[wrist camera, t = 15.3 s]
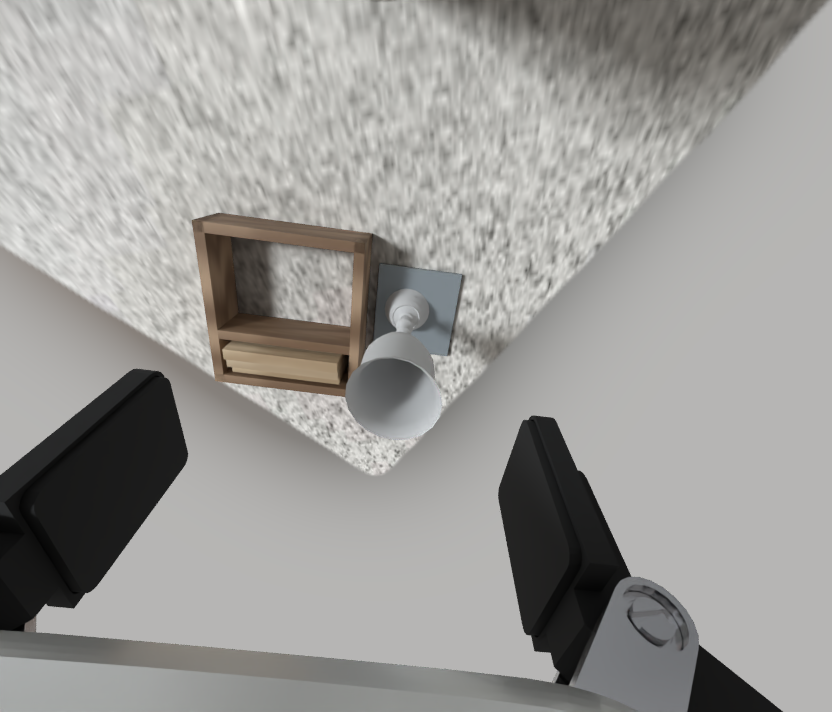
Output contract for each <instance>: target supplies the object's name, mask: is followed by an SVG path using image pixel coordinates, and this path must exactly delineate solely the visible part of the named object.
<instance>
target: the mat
mask: <svg viewBox="0 0 832 712" xmlns="http://www.w3.org/2000/svg"><path fill="white" fill-rule="evenodd" d="M461 278H462V274H457V273H449V272H442V271H434V270H427V269H419V268H412V267H404V266H397V265H389V264H382V263H380V264H379V275H378V288H377V300H376V313H375V326H374V338H373V341H375V340H376V339H377V338H379V337H381V336H383V335H385V334H388V333H390V332H396V331H397V330H396V328H395V327H394V326H393V325H392V324H391V323H390V322H389V321H388V319H387V317H386V314H385V305H386V301H387V300H388V298H389V296H390V295H392V294H393V293H394V292H396V291H398V290H400V289H412V290H415V291H417V292H419V293H421V294H422V295H423V296H424V297H425V299H426V300H427V303H428V305H429V315H428V318H427V320H426V322H425V323H424V324H423V325H422V326H421V327H419V328H417V329H415V330H413V331H412V332H411V335H412V336H414V337H416V338H417V339H418V340H419V341H420V342H421V343H422V344H423V345H424V346H425V348H426V349H427V350H428V351H429V353H430V354H435V355H443V356H447V354H448V348H449V343H450V338H451V332H452V327H453V322H454V316H455V311H456V305H457V300H458V295H459V289H460V284H461Z"/></svg>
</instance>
